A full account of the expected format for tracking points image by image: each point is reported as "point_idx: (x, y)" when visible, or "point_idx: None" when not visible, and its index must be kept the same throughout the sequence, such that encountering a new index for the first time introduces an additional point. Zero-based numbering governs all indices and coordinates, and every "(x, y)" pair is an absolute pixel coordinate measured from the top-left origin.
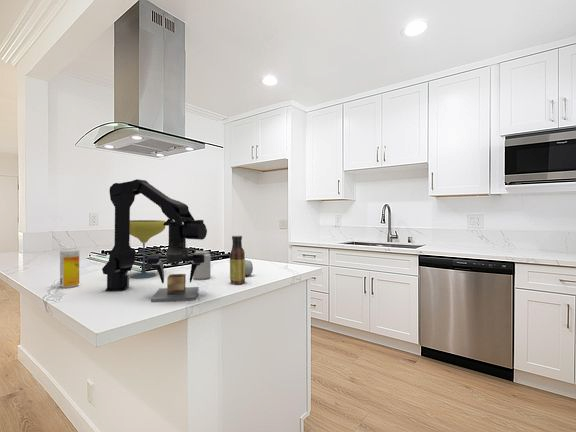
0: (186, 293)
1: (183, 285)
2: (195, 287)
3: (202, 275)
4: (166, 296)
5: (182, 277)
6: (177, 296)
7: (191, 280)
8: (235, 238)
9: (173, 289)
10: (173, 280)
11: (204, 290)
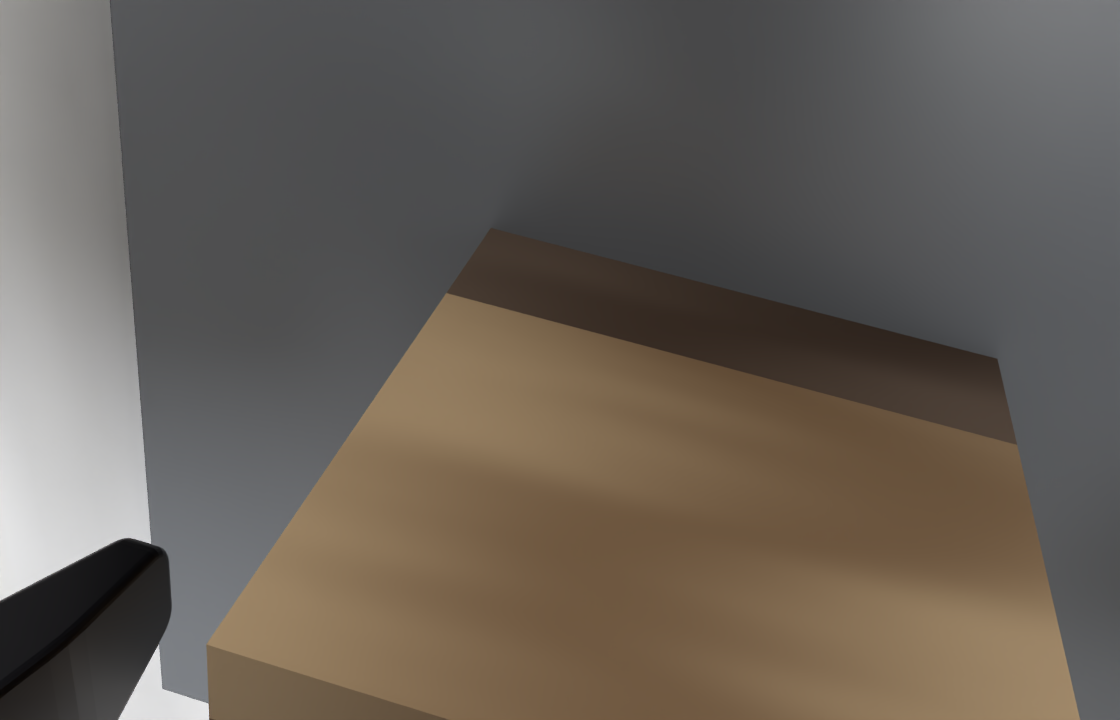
0: (411, 277)
1: (398, 382)
2: None
3: None
4: (1073, 179)
5: (289, 647)
6: (704, 25)
7: (62, 570)
8: None
9: (794, 401)
10: (775, 672)
11: (66, 535)
